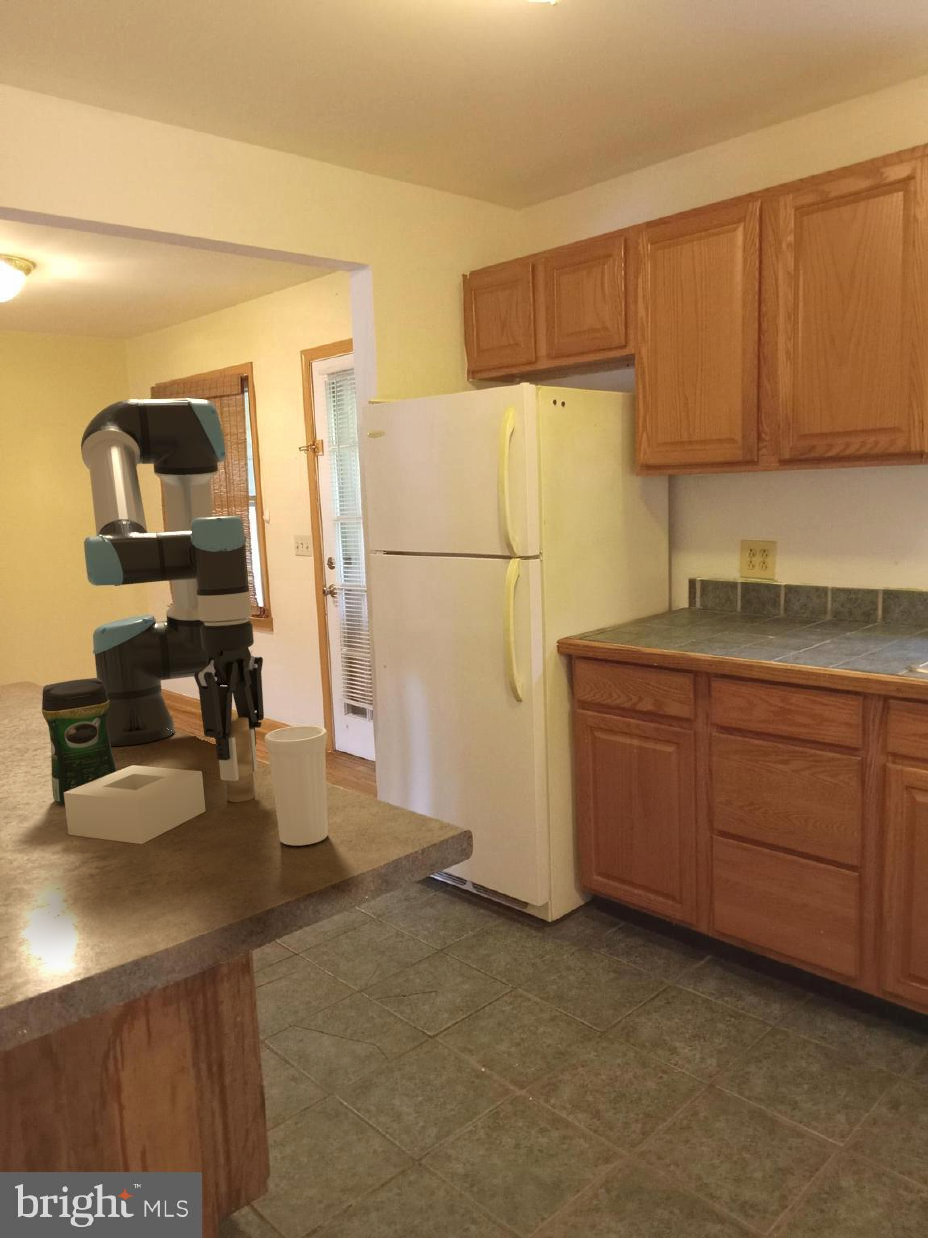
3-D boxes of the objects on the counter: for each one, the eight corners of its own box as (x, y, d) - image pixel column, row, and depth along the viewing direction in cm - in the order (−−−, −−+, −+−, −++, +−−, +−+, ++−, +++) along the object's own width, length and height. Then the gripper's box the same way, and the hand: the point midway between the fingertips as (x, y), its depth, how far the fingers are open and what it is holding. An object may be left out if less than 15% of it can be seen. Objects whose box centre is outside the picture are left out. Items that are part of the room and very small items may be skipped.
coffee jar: (114, 784, 147) (102, 672, 145) (123, 797, 140) (111, 679, 138) (49, 797, 142) (36, 681, 140) (56, 810, 136) (41, 689, 133)
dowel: (238, 792, 140) (231, 716, 138) (260, 794, 138) (253, 717, 136) (222, 800, 136) (215, 723, 134) (244, 803, 134) (237, 724, 133)
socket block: (136, 803, 137) (132, 765, 136) (205, 811, 132) (201, 771, 131) (68, 834, 125) (63, 792, 124) (141, 844, 120) (137, 800, 119)
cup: (267, 835, 121) (258, 731, 119) (326, 824, 124) (318, 722, 122) (279, 856, 113) (270, 745, 111) (342, 843, 116) (334, 735, 115)
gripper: (240, 613, 143) (252, 757, 146) (166, 630, 127) (181, 790, 130) (280, 613, 140) (292, 760, 143) (209, 630, 124) (224, 795, 127)
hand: (239, 774), depth 137 cm, fingers closed on dowel, 4 cm apart
